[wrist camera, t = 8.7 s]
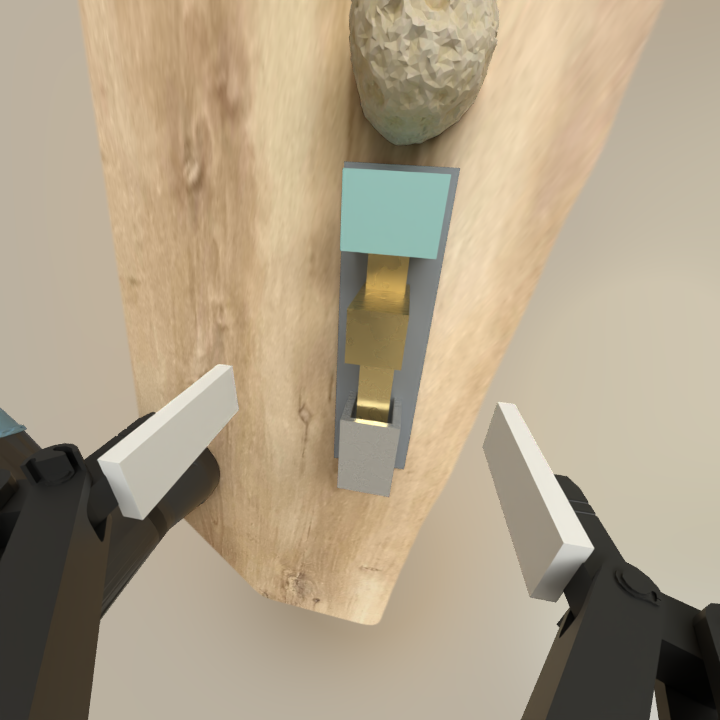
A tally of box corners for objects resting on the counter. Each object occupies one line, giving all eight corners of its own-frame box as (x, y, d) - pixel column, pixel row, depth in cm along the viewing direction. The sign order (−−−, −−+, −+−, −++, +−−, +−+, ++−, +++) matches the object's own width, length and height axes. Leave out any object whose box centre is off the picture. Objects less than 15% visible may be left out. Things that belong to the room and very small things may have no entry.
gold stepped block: (356, 404, 33) (339, 465, 25) (371, 206, 24) (352, 203, 16) (392, 410, 33) (385, 472, 25) (420, 210, 24) (425, 209, 16)
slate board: (335, 453, 39) (334, 457, 38) (346, 163, 24) (344, 161, 23) (403, 464, 38) (403, 469, 37) (458, 169, 23) (460, 168, 22)
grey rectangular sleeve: (346, 453, 37) (337, 487, 33) (350, 391, 33) (340, 419, 28) (392, 461, 37) (389, 497, 32) (402, 398, 32) (400, 429, 28)
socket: (353, 243, 26) (340, 250, 21) (357, 177, 24) (342, 167, 19) (431, 250, 25) (436, 259, 20) (442, 182, 23) (451, 174, 18)
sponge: (448, 8, 22) (383, -202, 14) (544, 60, 19) (536, -180, 10) (368, 128, 26) (280, 20, 18) (436, 189, 23) (366, 90, 14)
